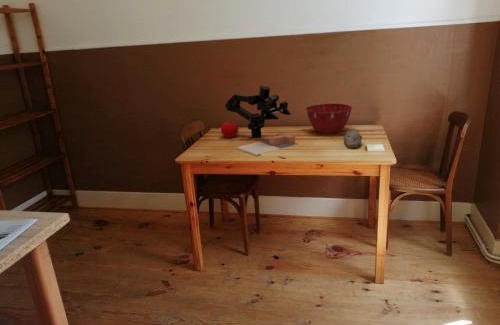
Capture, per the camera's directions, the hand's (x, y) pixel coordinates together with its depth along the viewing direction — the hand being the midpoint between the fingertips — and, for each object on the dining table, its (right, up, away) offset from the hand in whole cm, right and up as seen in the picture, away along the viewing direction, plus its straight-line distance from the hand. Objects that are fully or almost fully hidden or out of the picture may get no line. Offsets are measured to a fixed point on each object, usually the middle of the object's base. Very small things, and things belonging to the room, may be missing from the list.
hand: (284, 116), depth 216 cm
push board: (-9, -17, +3) cm, 20 cm away
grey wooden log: (+40, -14, +6) cm, 43 cm away
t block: (-2, -15, +6) cm, 16 cm away
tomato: (-32, -10, +31) cm, 46 cm away
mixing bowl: (+31, -6, +30) cm, 43 cm away
